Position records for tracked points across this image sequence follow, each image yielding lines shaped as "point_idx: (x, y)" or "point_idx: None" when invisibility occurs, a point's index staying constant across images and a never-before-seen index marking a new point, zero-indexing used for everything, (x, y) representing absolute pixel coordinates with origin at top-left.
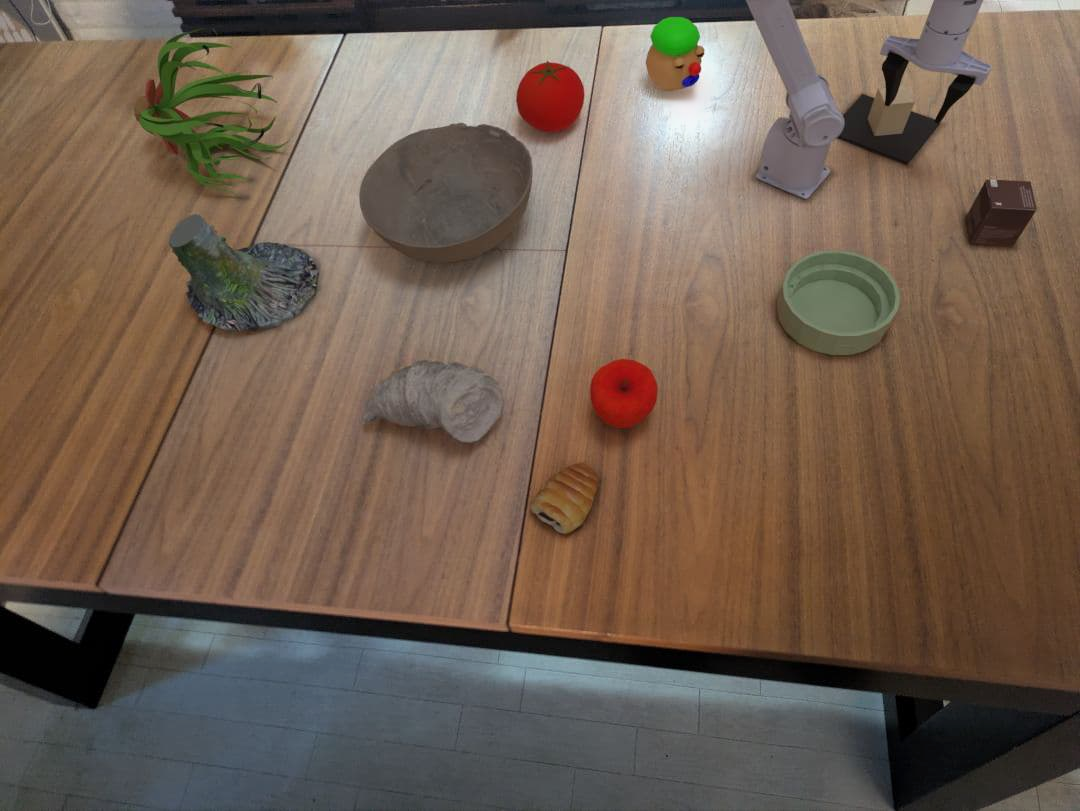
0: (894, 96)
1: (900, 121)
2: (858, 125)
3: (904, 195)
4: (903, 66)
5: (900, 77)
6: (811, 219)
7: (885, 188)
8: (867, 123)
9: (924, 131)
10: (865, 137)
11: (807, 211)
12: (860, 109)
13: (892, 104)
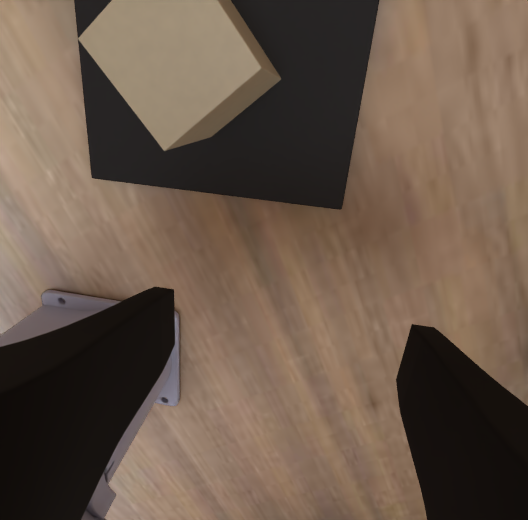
0: (162, 325)
1: (254, 92)
2: None
3: (367, 317)
4: (30, 502)
5: (97, 386)
6: (213, 437)
7: (316, 311)
8: None
9: (349, 23)
10: (190, 156)
11: (196, 422)
12: None
13: (184, 133)
